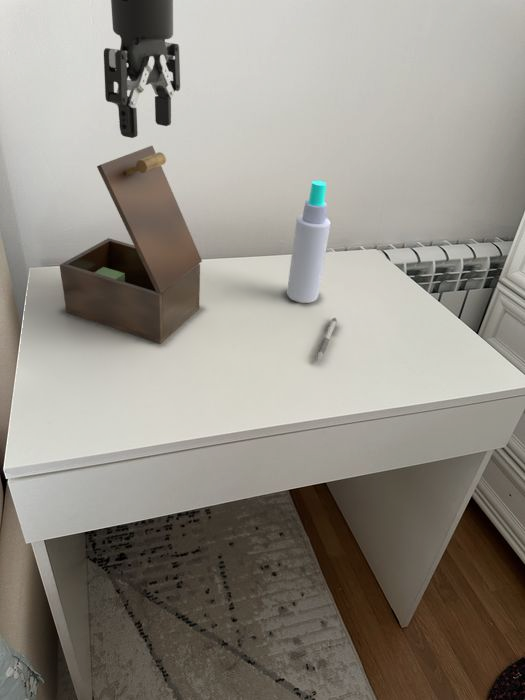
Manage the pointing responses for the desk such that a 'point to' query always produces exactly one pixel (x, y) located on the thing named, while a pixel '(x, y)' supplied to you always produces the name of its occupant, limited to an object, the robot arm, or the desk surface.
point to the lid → (151, 215)
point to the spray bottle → (309, 247)
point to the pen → (326, 339)
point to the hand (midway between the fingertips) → (146, 130)
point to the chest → (127, 292)
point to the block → (111, 274)
